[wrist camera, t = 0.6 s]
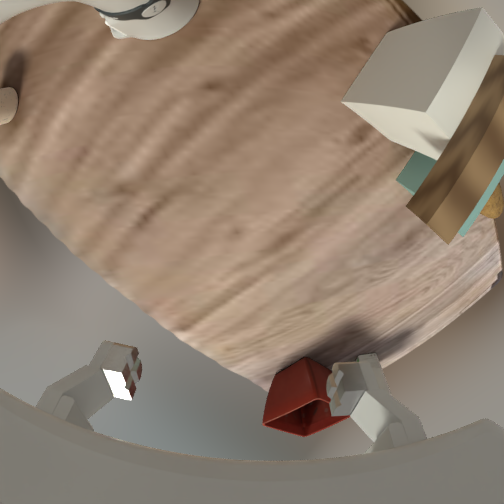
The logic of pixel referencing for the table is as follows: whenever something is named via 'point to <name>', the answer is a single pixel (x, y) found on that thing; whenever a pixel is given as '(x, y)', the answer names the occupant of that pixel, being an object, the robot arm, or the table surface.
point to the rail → (465, 160)
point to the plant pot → (300, 400)
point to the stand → (426, 78)
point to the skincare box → (375, 370)
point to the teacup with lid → (7, 104)
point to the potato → (494, 204)
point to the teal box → (420, 169)
